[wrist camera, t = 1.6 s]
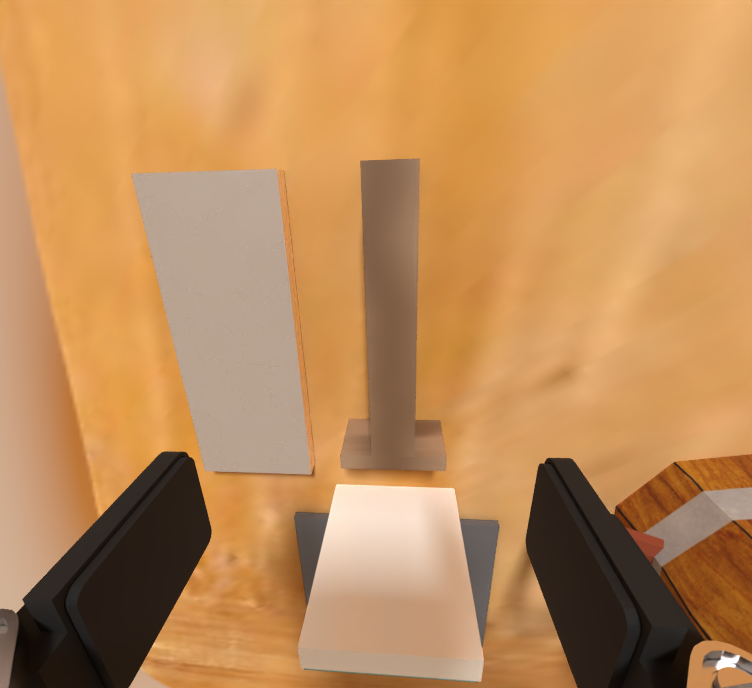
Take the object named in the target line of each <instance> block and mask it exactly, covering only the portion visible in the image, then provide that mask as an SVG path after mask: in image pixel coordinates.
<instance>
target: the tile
mask: <svg viewBox="0 0 752 688" xmlns="http://www.w3.org/2000/svg"><path fill="white" fill-rule="evenodd" d="M298 653H299V659H300V665H301V668H304V670H318V671H331V672H344V673H358V674H371V675H385V676H398V677H412V678H425V679H438V680H452V681H465V682H478V681H480V682H481V678H482V671H483V664H484V658H483V652H482V646H481V640H480V635H479V629H478V623H477V617H476V612H475V606H474V600H473V594H472V588H471V583H470V577H469V571H468V565H467V560H466V554H465V548H464V542H463V537H462V531H461V525H460V519H459V514H458V508H457V502H456V496H455V490H454V488H427V487H398V486H370V485H341V484H336V488H335V492H334V497H333V501H332V505H331V509H330V513H329V518H328V522H327V526H326V530H325V534H324V539H323V543H322V547H321V551H320V555H319V560H318V564H317V568H316V572H315V577H314V581H313V585H312V589H311V593H310V598H309V602H308V606H307V610H306V614H305V619H304V623H303V627H302V631H301V635H300V640H299V644H298Z"/></svg>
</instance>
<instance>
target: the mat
mask: <svg viewBox="0 0 752 688" xmlns="http://www.w3.org/2000/svg"><path fill="white" fill-rule="evenodd" d="M328 518H329V514H325V513H301V512H296V514H295V517H294V519H295V526H296V533H297V540H298V547H299V554H300V561H301V568H302V575H303V582H304V589H305V596H306V603H307V606H308V602H309V598H310V593H311V589H312V585H313V581H314V577H315V572H316V568H317V564H318V560H319V555H320V551H321V547H322V543H323V539H324V534H325V530H326V526H327V522H328ZM460 525H461V531H462V537H463V542H464V548H465V554H466V560H467V565H468V571H469V577H470V583H471V588H472V594H473V600H474V606H475V612H476V617H477V623H478V629H479V635H480V640H481V646H482V647H483V640H484V632H485V625H486V618H487V611H488V603H489V596H490V589H491V582H492V575H493V567H494V560H495V553H496V546H497V539H498V531H499V524H498V521H494V520H470V519H460Z"/></svg>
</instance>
